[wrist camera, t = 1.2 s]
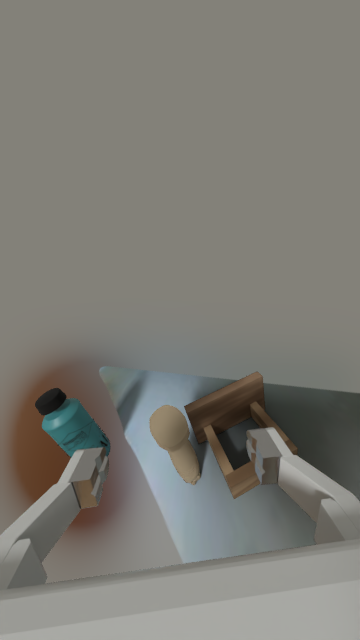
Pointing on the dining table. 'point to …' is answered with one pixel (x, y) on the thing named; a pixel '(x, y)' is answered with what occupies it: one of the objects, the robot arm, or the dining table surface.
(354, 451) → the dining table surface
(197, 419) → the wooden drawer
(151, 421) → the handle
